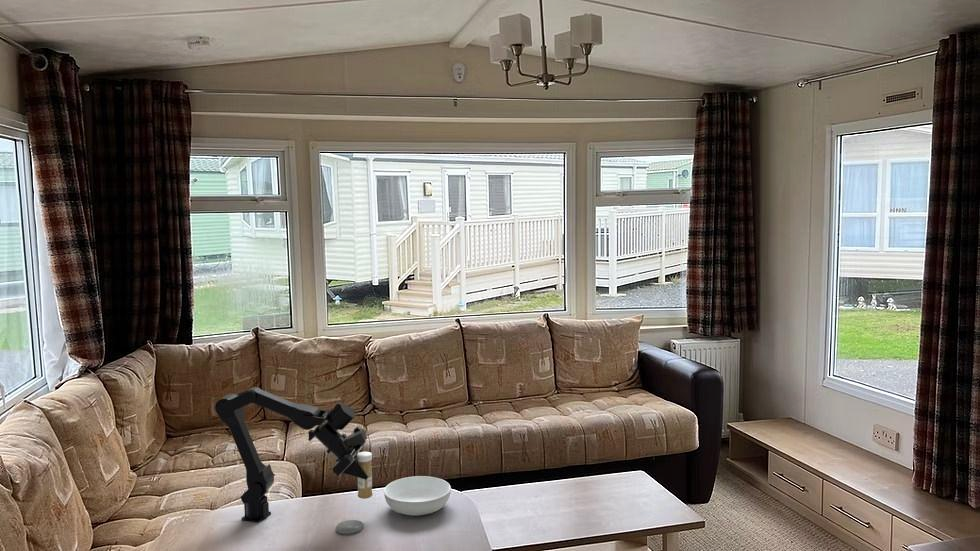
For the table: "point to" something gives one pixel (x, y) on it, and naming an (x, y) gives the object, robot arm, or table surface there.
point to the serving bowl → (417, 495)
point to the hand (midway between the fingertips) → (369, 475)
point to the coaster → (349, 527)
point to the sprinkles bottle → (363, 484)
